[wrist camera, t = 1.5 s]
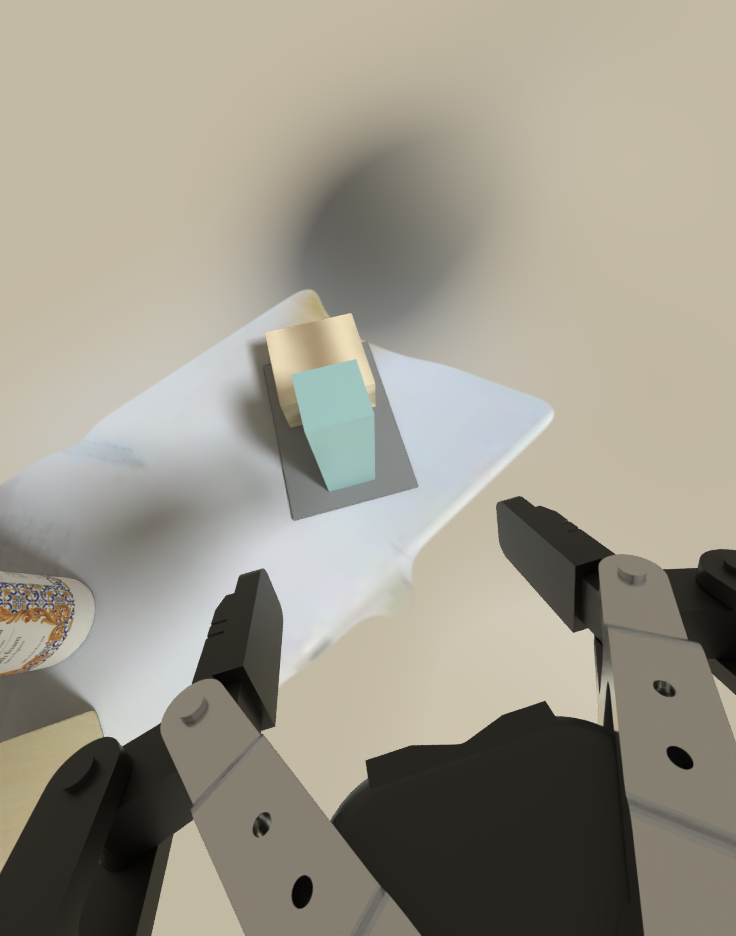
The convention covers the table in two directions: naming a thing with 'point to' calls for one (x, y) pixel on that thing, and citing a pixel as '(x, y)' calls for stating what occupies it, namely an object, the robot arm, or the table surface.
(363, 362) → the base block
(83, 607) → the bath foam
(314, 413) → the pillar
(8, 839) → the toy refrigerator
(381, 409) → the mat
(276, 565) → the table surface
